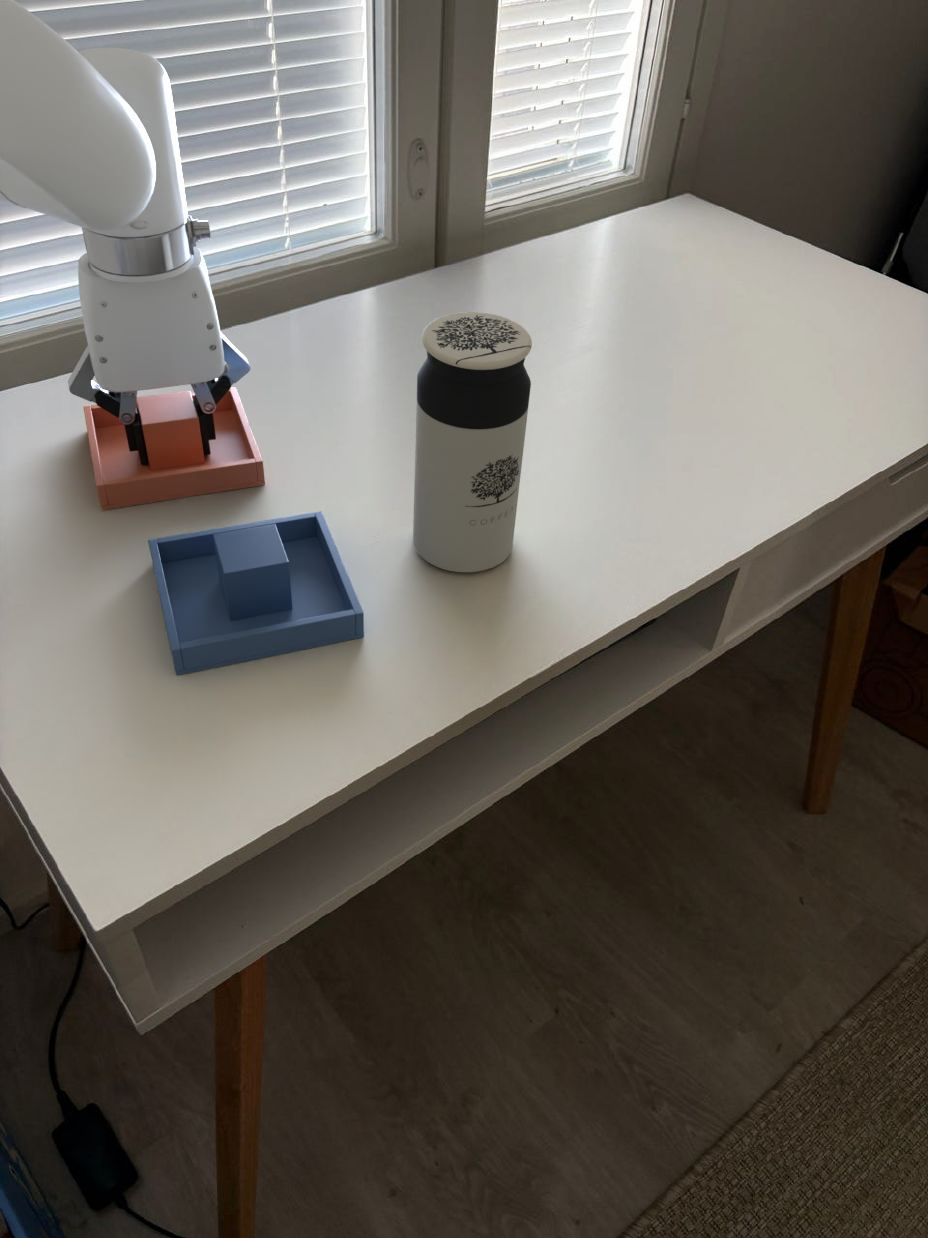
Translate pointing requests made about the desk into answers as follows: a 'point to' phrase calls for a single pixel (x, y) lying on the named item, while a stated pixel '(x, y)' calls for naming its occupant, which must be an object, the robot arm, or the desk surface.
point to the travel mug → (469, 439)
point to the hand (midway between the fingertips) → (173, 448)
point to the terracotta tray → (137, 484)
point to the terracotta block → (171, 430)
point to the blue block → (253, 572)
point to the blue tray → (217, 641)
